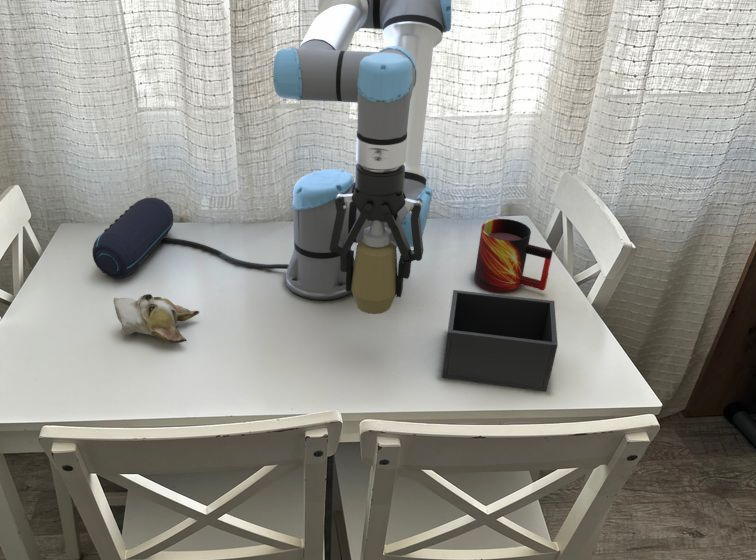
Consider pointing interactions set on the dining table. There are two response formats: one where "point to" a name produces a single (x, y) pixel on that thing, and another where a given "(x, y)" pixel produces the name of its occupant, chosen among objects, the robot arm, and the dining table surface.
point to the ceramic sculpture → (152, 317)
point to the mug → (507, 257)
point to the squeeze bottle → (375, 270)
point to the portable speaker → (132, 237)
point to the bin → (500, 340)
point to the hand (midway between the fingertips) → (374, 289)
